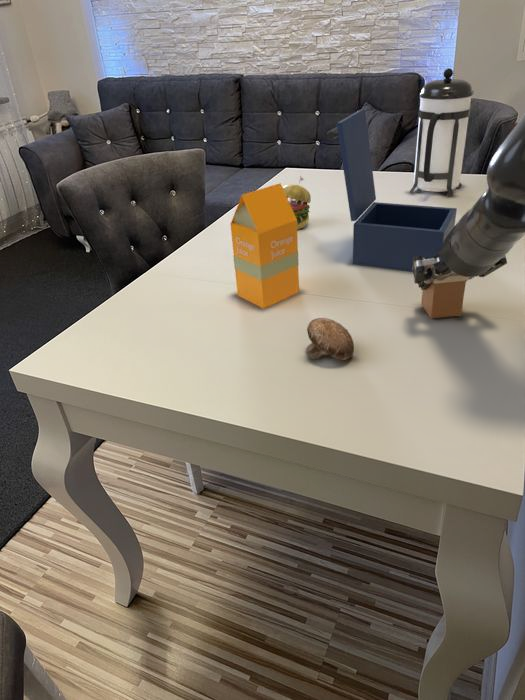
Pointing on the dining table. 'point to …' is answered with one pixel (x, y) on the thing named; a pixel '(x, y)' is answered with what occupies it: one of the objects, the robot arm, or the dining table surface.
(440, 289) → the carton
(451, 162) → the coffee press
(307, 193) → the hamburger
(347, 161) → the navy box lid
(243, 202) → the orange juice
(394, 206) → the dark blue open box
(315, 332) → the mushroom
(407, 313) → the dining table surface
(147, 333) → the dining table surface
